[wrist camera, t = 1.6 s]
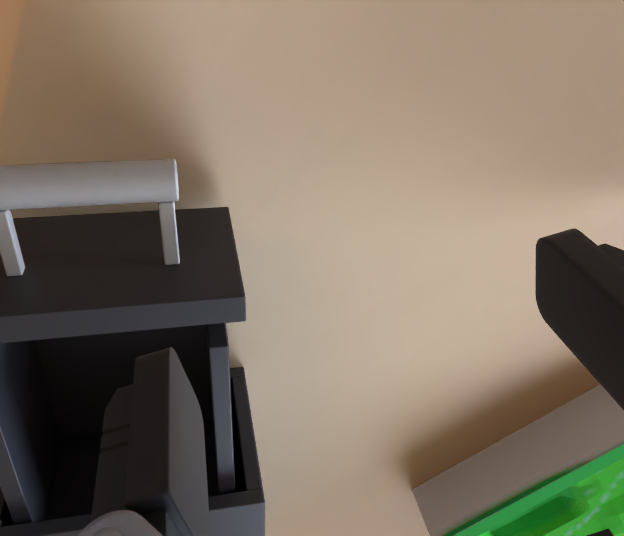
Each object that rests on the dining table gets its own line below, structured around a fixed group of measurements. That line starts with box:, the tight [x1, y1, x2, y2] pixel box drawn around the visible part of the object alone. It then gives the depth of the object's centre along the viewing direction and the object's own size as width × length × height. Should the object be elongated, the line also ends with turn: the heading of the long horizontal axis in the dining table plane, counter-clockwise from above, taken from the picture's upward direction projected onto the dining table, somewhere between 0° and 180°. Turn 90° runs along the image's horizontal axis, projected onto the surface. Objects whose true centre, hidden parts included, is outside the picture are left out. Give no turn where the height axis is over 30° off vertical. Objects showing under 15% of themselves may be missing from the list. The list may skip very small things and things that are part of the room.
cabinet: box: [0, 367, 265, 536], centre depth 35 cm, size 16×13×10 cm
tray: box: [412, 384, 624, 536], centre depth 49 cm, size 25×25×5 cm
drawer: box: [0, 159, 246, 525], centre depth 27 cm, size 19×11×8 cm, turn 177°
